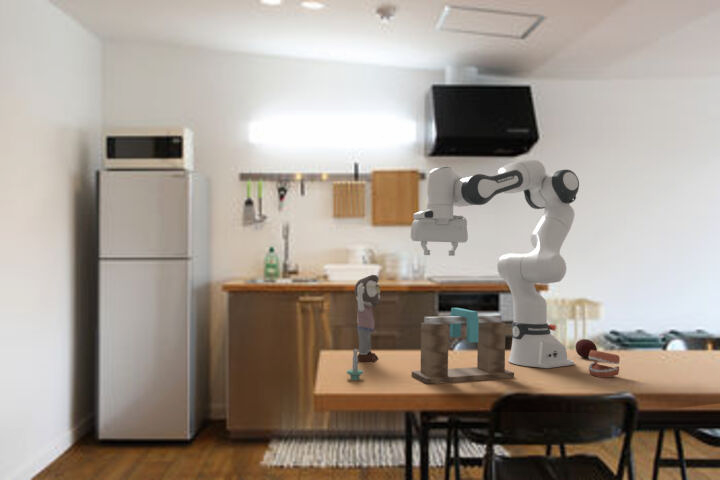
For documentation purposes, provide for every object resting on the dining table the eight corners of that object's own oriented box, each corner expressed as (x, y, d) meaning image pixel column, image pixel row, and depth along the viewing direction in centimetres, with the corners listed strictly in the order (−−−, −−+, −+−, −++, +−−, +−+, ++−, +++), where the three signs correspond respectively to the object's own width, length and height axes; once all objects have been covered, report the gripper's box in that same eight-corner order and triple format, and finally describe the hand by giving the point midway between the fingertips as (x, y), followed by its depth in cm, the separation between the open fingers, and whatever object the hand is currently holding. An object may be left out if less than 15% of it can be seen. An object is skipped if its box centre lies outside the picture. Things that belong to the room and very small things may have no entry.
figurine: (373, 367, 169) (375, 275, 170) (345, 365, 171) (347, 275, 172) (382, 356, 187) (383, 274, 188) (356, 355, 189) (358, 273, 190)
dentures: (581, 373, 165) (581, 348, 165) (595, 371, 169) (595, 347, 169) (605, 379, 158) (606, 353, 158) (620, 377, 161) (620, 351, 161)
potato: (584, 360, 187) (584, 341, 187) (570, 356, 194) (571, 337, 195) (601, 360, 189) (601, 340, 189) (587, 355, 196) (588, 337, 196)
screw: (351, 376, 155) (366, 378, 153) (343, 380, 151) (358, 382, 149) (351, 346, 156) (366, 348, 154) (344, 349, 151) (359, 350, 149)
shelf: (495, 370, 167) (495, 313, 168) (514, 377, 158) (514, 317, 159) (411, 376, 157) (412, 315, 158) (426, 384, 148) (427, 319, 148)
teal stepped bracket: (458, 336, 164) (458, 307, 164) (478, 342, 153) (478, 311, 153) (449, 336, 163) (450, 307, 163) (469, 342, 152) (469, 311, 152)
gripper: (461, 216, 181) (461, 255, 180) (409, 213, 174) (408, 254, 173) (471, 215, 175) (471, 256, 174) (417, 212, 168) (416, 254, 167)
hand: (439, 255), depth 174 cm, fingers open, 8 cm apart
